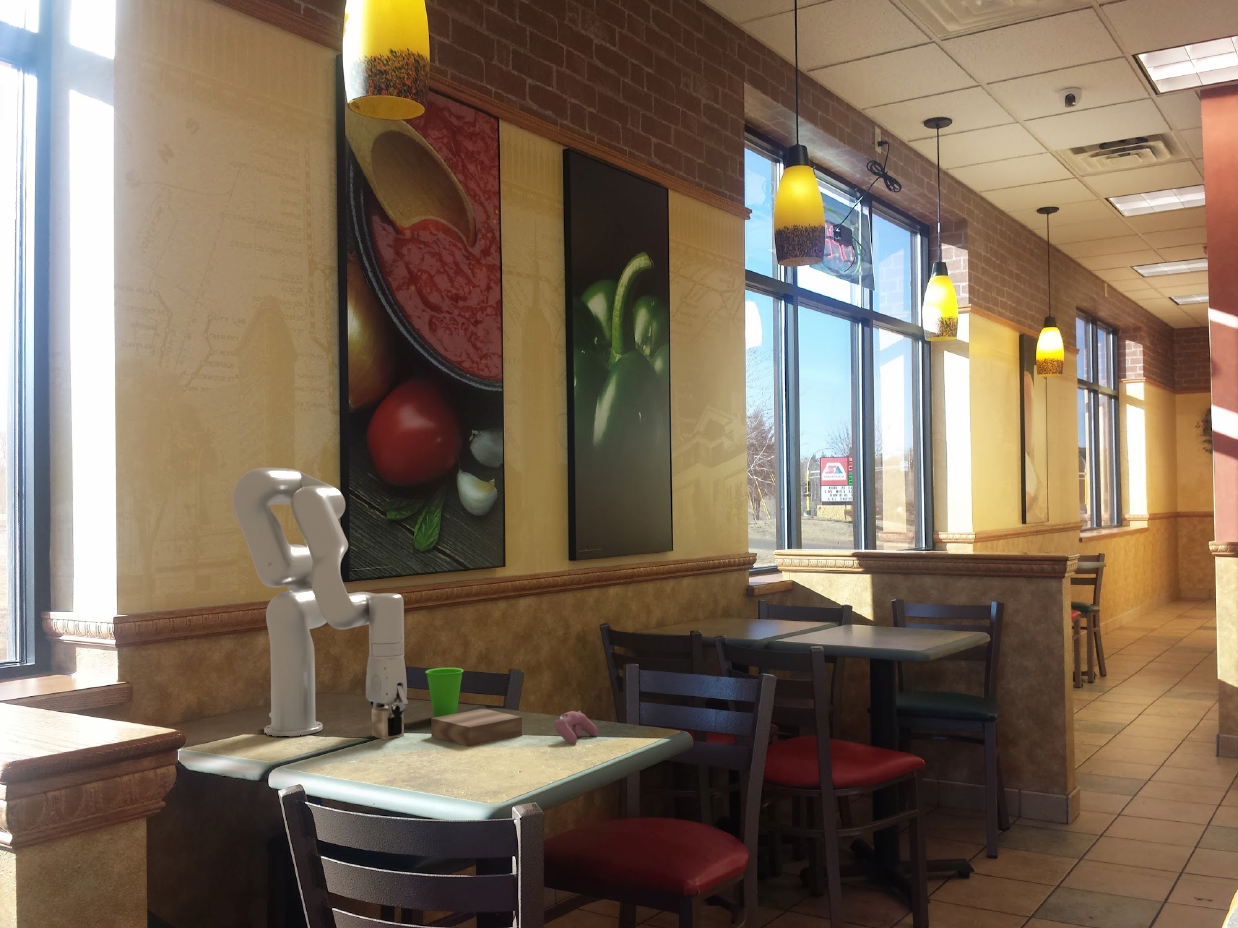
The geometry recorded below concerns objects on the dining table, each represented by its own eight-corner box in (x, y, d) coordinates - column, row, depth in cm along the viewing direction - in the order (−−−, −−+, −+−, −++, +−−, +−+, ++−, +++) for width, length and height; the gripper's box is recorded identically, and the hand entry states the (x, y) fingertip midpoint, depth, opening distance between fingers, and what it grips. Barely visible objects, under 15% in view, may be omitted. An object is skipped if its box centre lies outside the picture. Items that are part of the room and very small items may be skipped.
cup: (457, 721, 256) (457, 673, 256) (420, 720, 257) (419, 673, 258) (469, 713, 265) (468, 667, 265) (432, 713, 266) (432, 667, 267)
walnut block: (431, 736, 241) (431, 717, 241) (483, 726, 250) (483, 708, 250) (469, 746, 231) (469, 727, 231) (522, 735, 240) (521, 716, 240)
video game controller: (585, 741, 240) (572, 711, 242) (601, 733, 238) (588, 703, 240) (560, 751, 232) (547, 719, 234) (576, 743, 230) (563, 711, 232)
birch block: (371, 736, 242) (371, 708, 242) (391, 732, 246) (391, 705, 246) (384, 739, 239) (383, 711, 239) (403, 735, 242) (403, 708, 242)
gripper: (351, 648, 246) (352, 730, 246) (393, 655, 234) (394, 741, 233) (380, 644, 251) (381, 724, 251) (423, 651, 239) (424, 736, 239)
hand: (387, 732), depth 242 cm, fingers closed on birch block, 4 cm apart
